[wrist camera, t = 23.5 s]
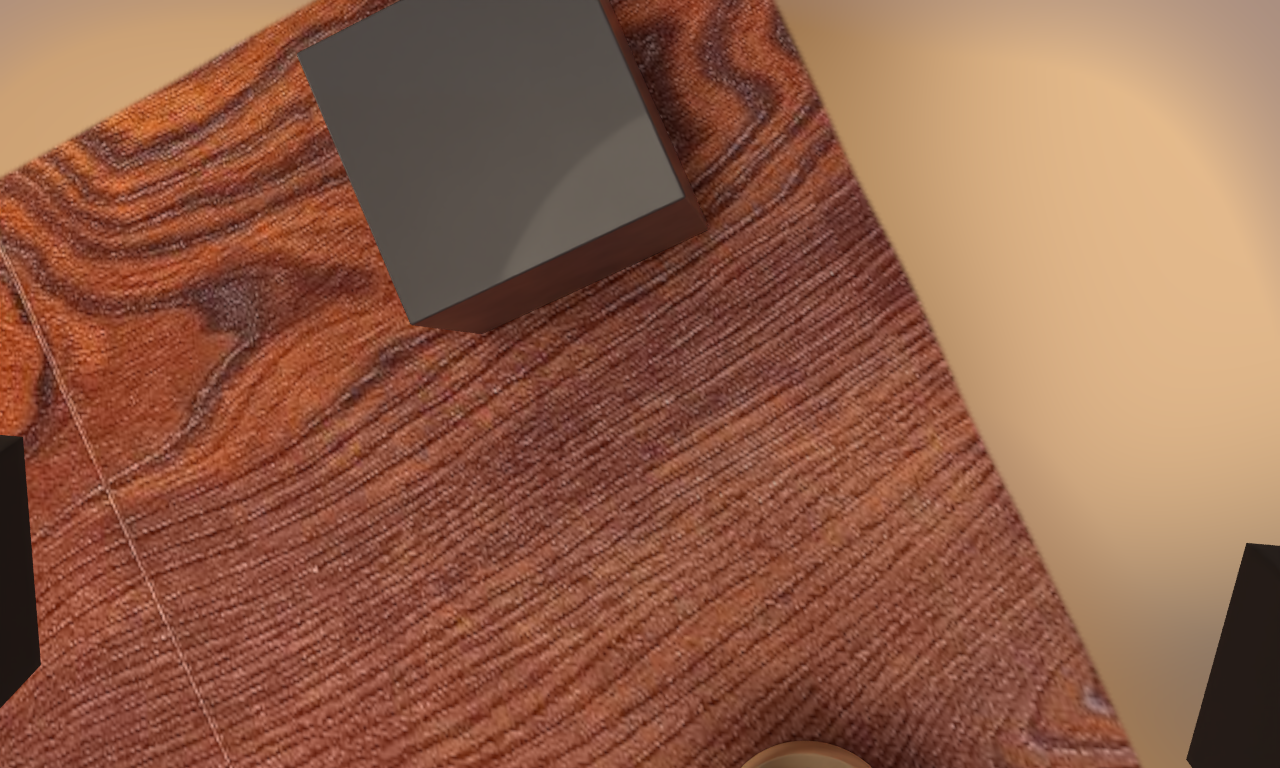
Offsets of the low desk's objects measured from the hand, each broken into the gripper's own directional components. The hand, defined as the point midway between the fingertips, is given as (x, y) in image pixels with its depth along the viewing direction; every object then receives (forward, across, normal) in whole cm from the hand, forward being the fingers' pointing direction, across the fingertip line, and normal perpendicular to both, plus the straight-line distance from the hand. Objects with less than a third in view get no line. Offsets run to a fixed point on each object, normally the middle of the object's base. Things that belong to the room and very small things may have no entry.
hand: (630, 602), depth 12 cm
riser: (+34, -4, 0) cm, 35 cm away
